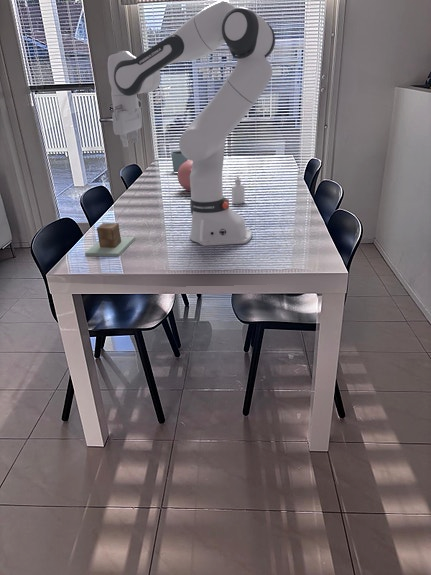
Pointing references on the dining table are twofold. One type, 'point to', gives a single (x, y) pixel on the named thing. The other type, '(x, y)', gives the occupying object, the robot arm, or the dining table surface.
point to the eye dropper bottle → (238, 192)
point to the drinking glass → (177, 160)
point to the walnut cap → (109, 235)
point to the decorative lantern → (185, 174)
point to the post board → (103, 251)
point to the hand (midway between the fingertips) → (130, 144)
